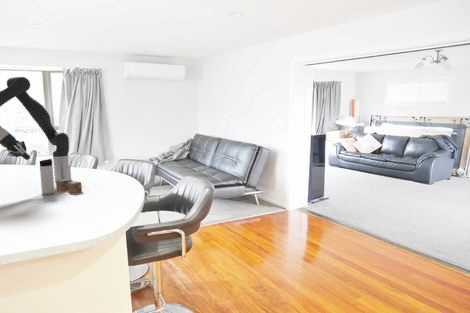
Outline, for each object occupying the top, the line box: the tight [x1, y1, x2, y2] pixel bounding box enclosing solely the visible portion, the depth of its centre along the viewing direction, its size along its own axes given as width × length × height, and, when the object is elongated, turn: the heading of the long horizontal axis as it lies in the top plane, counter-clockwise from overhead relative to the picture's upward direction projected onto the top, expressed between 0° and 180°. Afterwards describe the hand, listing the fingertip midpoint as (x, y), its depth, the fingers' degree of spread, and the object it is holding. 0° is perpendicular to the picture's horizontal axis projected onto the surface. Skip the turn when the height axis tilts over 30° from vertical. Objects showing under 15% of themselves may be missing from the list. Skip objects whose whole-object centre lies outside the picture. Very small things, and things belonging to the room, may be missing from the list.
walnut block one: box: [68, 181, 83, 195], centre depth 190 cm, size 5×5×6 cm
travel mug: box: [39, 158, 55, 196], centre depth 186 cm, size 6×7×20 cm
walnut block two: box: [55, 179, 70, 192], centre depth 196 cm, size 5×5×6 cm
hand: (28, 158), depth 190 cm, fingers closed
